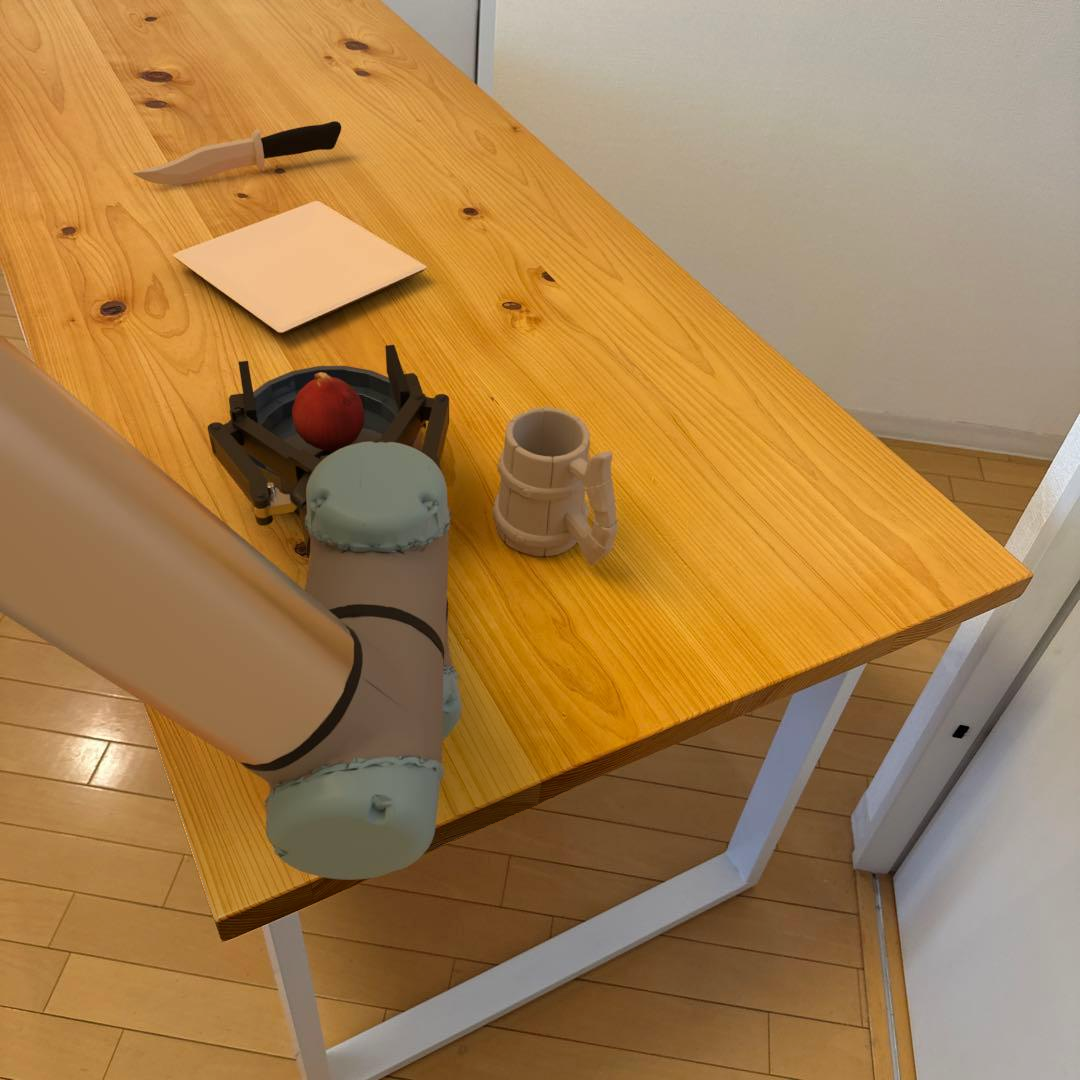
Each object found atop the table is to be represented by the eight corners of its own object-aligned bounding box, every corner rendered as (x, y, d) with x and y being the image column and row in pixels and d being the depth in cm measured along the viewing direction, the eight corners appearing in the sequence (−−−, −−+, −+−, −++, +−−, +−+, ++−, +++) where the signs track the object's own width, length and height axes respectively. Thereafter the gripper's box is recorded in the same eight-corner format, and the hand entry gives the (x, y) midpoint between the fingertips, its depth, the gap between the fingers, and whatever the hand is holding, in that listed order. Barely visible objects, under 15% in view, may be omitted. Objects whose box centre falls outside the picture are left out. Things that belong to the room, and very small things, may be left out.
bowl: (233, 521, 80) (225, 484, 77) (249, 403, 91) (243, 366, 88) (424, 515, 82) (423, 478, 79) (419, 400, 93) (418, 364, 90)
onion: (343, 419, 89) (336, 343, 83) (380, 454, 86) (375, 378, 80) (285, 444, 86) (273, 367, 80) (320, 481, 83) (311, 404, 77)
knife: (139, 195, 116) (129, 153, 112) (135, 188, 117) (125, 146, 113) (345, 161, 125) (342, 121, 121) (340, 155, 126) (337, 115, 122)
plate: (282, 349, 97) (279, 331, 95) (174, 270, 105) (170, 252, 104) (428, 282, 107) (427, 265, 105) (319, 215, 115) (317, 198, 114)
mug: (544, 481, 86) (555, 366, 77) (640, 562, 80) (663, 447, 71) (473, 518, 82) (476, 401, 74) (568, 606, 76) (583, 490, 68)
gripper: (194, 614, 70) (179, 419, 84) (523, 559, 75) (457, 385, 90) (173, 538, 64) (161, 344, 79) (529, 485, 70) (457, 313, 84)
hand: (319, 366), depth 84 cm, fingers open, 11 cm apart
